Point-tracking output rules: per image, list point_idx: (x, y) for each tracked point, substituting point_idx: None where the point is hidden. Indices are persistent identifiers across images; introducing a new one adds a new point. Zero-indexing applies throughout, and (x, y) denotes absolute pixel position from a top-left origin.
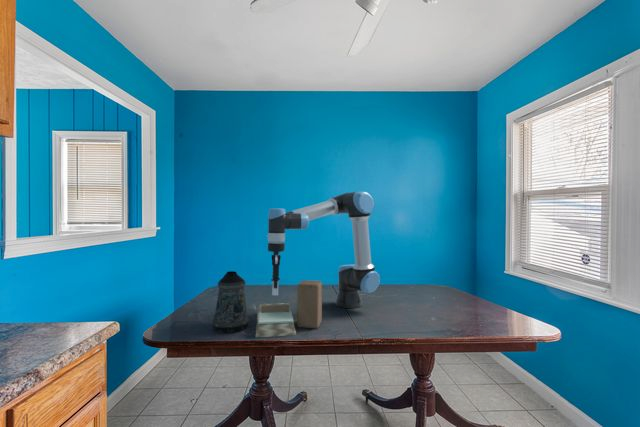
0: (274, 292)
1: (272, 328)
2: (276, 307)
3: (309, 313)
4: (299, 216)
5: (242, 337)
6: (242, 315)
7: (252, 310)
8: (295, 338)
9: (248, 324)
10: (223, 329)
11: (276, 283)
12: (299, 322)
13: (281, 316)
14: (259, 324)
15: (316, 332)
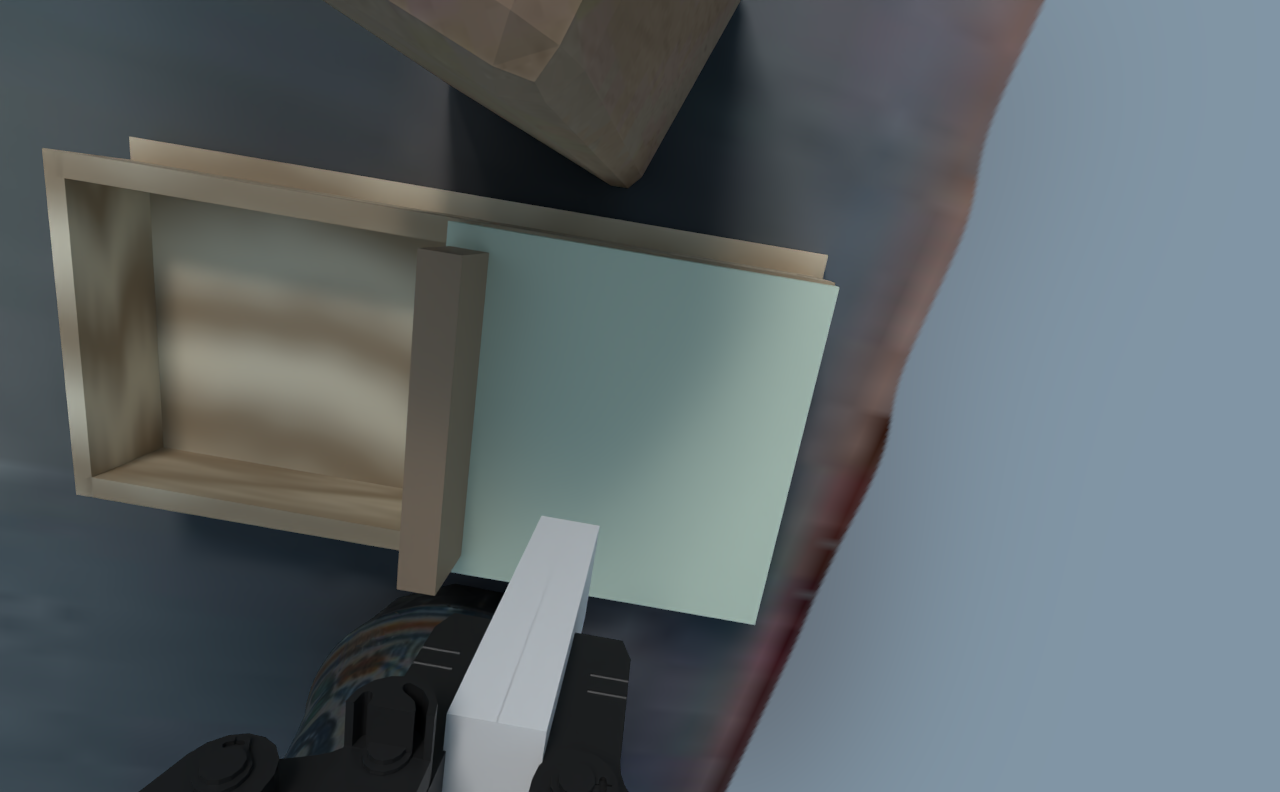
0: (583, 615)
1: None
2: (458, 418)
3: (711, 17)
4: None
5: (707, 653)
6: None
7: (50, 498)
8: (890, 279)
9: (494, 601)
10: None
11: (620, 743)
12: (646, 164)
13: (651, 383)
14: None
15: (829, 28)
